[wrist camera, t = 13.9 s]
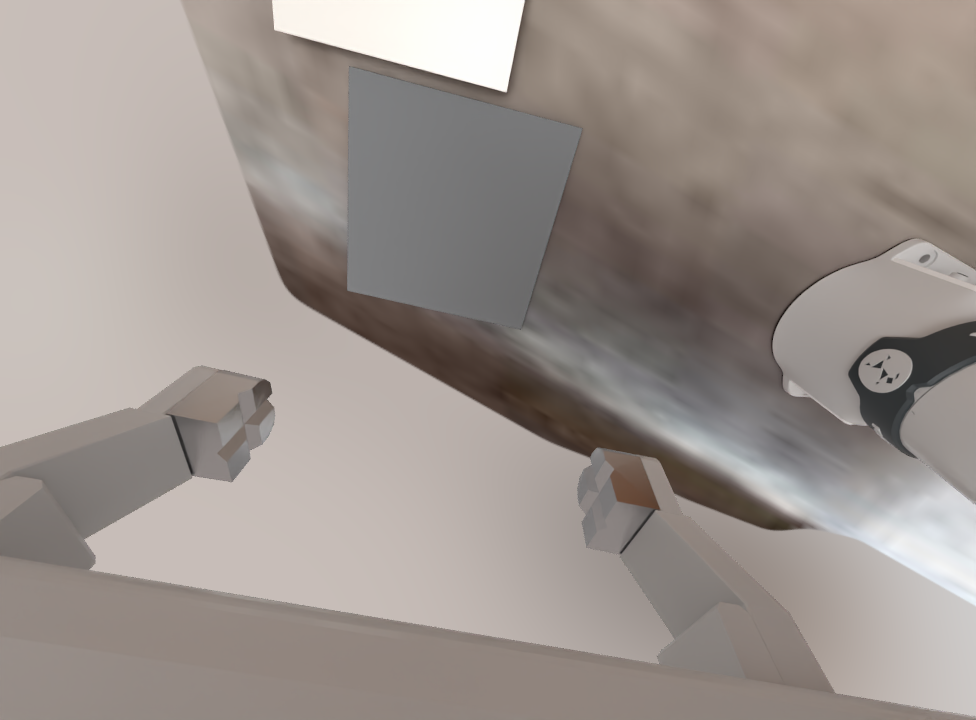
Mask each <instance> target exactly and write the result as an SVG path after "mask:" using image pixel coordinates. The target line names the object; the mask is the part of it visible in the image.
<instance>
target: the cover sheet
mask: <svg viewBox="0 0 976 720" xmlns="http://www.w3.org/2000/svg"><path fill="white" fill-rule="evenodd" d="M272 3H273V16H274V29H275V30H276V31H279V32H282V33H286V34H290V35H293V36H297V37H301V38H305V39H308V40H312V41H316V42H319V43H323V44H327V45H331V46H334V47H338V48H342V49H345V50H349V51H353V52H357V53H360V54H364V55H368V56H371V57H375V58H379V59H383V60H386V61H390V62H394V63H397V64H401V65H405V66H409V67H412V68H416V69H420V70H423V71H427V72H431V73H435V74H438V75H442V76H446V77H449V78H453V79H457V80H461V81H464V82H468V83H472V84H475V85H479V86H483V87H487V88H490V89H494V90H498V91H501V92H505V93H507V88H508V83H509V78H510V73H511V68H512V63H513V58H514V53H515V48H516V43H517V38H518V33H519V28H520V23H521V18H522V13H523V8H524V3H525V0H272Z"/></svg>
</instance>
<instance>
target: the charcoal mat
mask: <svg viewBox="0 0 976 720" xmlns="http://www.w3.org/2000/svg"><path fill="white" fill-rule="evenodd" d="M582 129H583V128H579V127H575V126H572V125H568V124H564V123H560V122H557V121H553V120H549V119H545V118H541V117H538V116H534V115H530V114H526V113H523V112H519V111H515V110H511V109H508V108H504V107H500V106H496V105H493V104H489V103H485V102H481V101H478V100H474V99H470V98H466V97H463V96H459V95H455V94H451V93H448V92H444V91H440V90H436V89H433V88H429V87H425V86H421V85H418V84H414V83H410V82H406V81H403V80H399V79H395V78H391V77H388V76H384V75H380V74H376V73H373V72H369V71H365V70H361V69H358V68H354V67H350V66H349V130H348V266H347V291H352V292H356V293H360V294H365V295H369V296H374V297H378V298H383V299H387V300H391V301H396V302H400V303H405V304H409V305H414V306H418V307H423V308H427V309H431V310H436V311H440V312H445V313H449V314H454V315H458V316H462V317H467V318H471V319H476V320H480V321H485V322H489V323H493V324H498V325H502V326H507V327H511V328H516V329H520V330H521V328H522V325H523V322H524V318H525V315H526V312H527V309H528V305H529V302H530V299H531V296H532V292H533V289H534V286H535V282H536V279H537V276H538V273H539V269H540V266H541V263H542V260H543V256H544V253H545V250H546V247H547V243H548V240H549V237H550V233H551V230H552V227H553V224H554V220H555V217H556V214H557V211H558V207H559V204H560V201H561V197H562V194H563V191H564V188H565V184H566V181H567V178H568V175H569V171H570V168H571V165H572V161H573V158H574V155H575V152H576V148H577V145H578V142H579V139H580V135H581V132H582Z"/></svg>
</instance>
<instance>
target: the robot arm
mask: <svg viewBox="0 0 976 720" xmlns="http://www.w3.org/2000/svg"><path fill="white" fill-rule="evenodd" d="M773 354H774V357H775V360H776V362H777V363H778V365H779V366H780V368H781V369H782V371H783V388H784V390H785V391H786V392H787V393H789V394H790V395H792V396H796V397H811V398H812V399H814V400H815V401H816V402H817V403H819V404H820V405H821V406H823V407H824V408H825V409H827V410H828V411H829V412H830V413H832V414H833V415H834V416H836V417H837V418H838V419H840V420H841V421H843V422H844V423H846V424H849V425H853V424H856V425H861V426H870V427H871V428H872V429H873V430H874V431H876V433H877V434H878V435H879V436H880V437H881V438H882V439H883V440H885V441H886V442H887V443H889V444H890V445H892V446H894V447H896V448H897V449H898V450H900V451H901V452H902V453H904V454H906V455H908V456H911V457H913V458H917V459H920V460H921V461H922V462H923V463H924V464H926V465H927V466H928V467H929V468H931V469H932V470H933V471H934V472H935V473H937V474H938V475H939V476H940V477H942V478H943V479H944V480H945V481H946V482H948V483H949V484H950V485H951V486H953V487H954V488H955V489H956V490H957V491H959V492H960V493H961V494H962V495H964V496H965V497H966V498H967V499H968V500H970V501H971V502H972V503H973V504H975V505H976V270H975V269H973V268H971V267H970V266H968V265H966V264H965V263H963V262H961V261H960V260H958V259H956V258H955V257H953V256H951V255H949V254H948V253H946V252H944V251H943V250H941V249H939V248H938V247H936V246H934V245H933V244H931V243H929V242H927V241H924V240H922V239H918V238H916V239H911V240H908V241H906V242H903V243H901V244H900V245H898V246H896V247H894V248H892V249H891V250H889V251H887V252H886V253H884V254H882V255H881V256H879V257H877V258H874V259H872V260H869V261H865V262H862V263H858V264H855V265H852V266H849V267H846V268H843V269H841V270H839V271H837V272H834V273H832V274H830V275H829V276H827V277H825V278H823V279H822V280H820V281H818V282H817V283H815V284H814V285H813V286H811V287H810V288H809V289H807V290H806V291H805V292H804V293H802V294H801V295H800V296H799V297H798V298H797V299H796V300H795V301H794V302H793V303H792V304H791V306H790V307H789V308H788V309H787V311H786V312H785V313H784V315H783V316H782V318H781V320H780V321H779V323H778V325H777V328H776V330H775V333H774V337H773ZM271 394H272V390H271V384H270V382H269V381H267V380H265V379H260V378H256V377H252V376H247V375H243V374H239V373H234V372H230V371H225V370H219V369H215V368H210V367H206V366H198V367H194V368H192V369H191V370H189V371H188V372H187V373H185V374H184V375H183V376H181V377H180V378H179V379H177V380H176V381H174V382H173V383H172V384H171V385H169V386H168V387H166V388H165V389H164V390H162V391H161V392H160V393H158V394H157V395H156V396H154V397H153V398H151V399H150V400H149V401H147V402H146V403H145V404H143V405H142V406H141V407H139V408H138V409H133V408H127V409H124V410H120V411H117V412H114V413H110V414H107V415H105V416H101V417H98V418H94V419H91V420H88V421H84V422H81V423H78V424H74V425H71V426H68V427H65V428H61V429H58V430H55V431H52V432H48V433H45V434H42V435H39V436H35V437H32V438H29V439H25V440H22V441H19V442H16V443H13V444H9V445H6V446H3V447H0V720H976V717H975V716H969V715H963V714H957V713H951V712H945V711H939V710H933V709H927V708H921V707H915V706H909V705H903V704H897V703H891V702H885V701H879V700H873V699H866V698H861V697H854V696H849V695H843V694H836V693H835V692H834V690H833V688H832V686H831V685H830V683H829V681H828V679H827V678H826V676H825V674H824V672H823V671H822V669H821V667H820V665H819V663H818V662H817V660H816V658H815V656H814V655H813V653H812V651H811V649H810V648H809V646H808V644H807V643H806V641H805V639H804V637H803V635H802V634H801V632H800V630H799V629H798V627H797V625H796V623H795V621H794V620H793V618H792V616H791V614H790V613H789V612H788V611H787V610H786V609H785V608H784V607H783V606H782V605H781V604H780V603H779V602H778V601H777V600H776V599H775V598H774V597H773V596H772V595H770V593H768V592H767V591H766V590H765V589H764V588H763V587H762V586H761V585H760V584H759V583H758V582H757V581H756V580H755V579H754V578H753V577H752V576H751V575H750V574H748V572H747V571H746V570H745V569H744V568H742V567H741V566H740V565H739V564H738V563H737V562H736V561H735V560H734V559H733V558H732V557H731V556H730V555H729V554H728V553H727V552H725V550H724V549H723V548H722V547H721V546H720V545H719V544H717V543H716V542H715V541H714V540H713V539H712V538H711V537H710V536H709V535H708V534H707V533H706V532H705V531H704V530H703V529H702V528H701V527H700V526H699V525H698V524H697V523H696V522H695V521H693V520H692V519H691V518H690V517H688V516H684V515H683V513H682V511H681V509H680V507H679V504H678V502H677V500H676V497H675V495H674V493H673V491H672V488H671V486H670V484H669V482H668V479H667V477H666V475H665V473H664V470H663V468H662V466H661V464H660V462H659V461H658V460H657V459H656V458H651V457H646V456H640V455H634V454H629V453H624V452H619V451H614V450H608V449H603V448H597V449H596V450H594V452H593V453H592V455H591V457H590V459H591V464H592V465H591V466H589V467H587V468H585V469H584V470H583V472H582V474H581V476H580V478H579V483H578V503H579V506H580V508H581V509H582V510H583V511H584V512H585V514H586V516H585V517H584V519H583V521H582V526H583V531H584V536H585V542H586V547H587V548H591V549H595V550H600V551H605V552H609V553H614V554H619V555H620V558H621V559H622V561H623V562H624V564H625V565H626V567H627V568H628V570H629V571H630V573H631V574H632V576H633V577H634V579H635V580H636V581H637V583H638V585H639V586H640V588H641V589H642V591H643V592H644V594H645V595H646V597H647V598H648V600H649V601H650V603H651V604H652V605H653V607H654V609H655V610H656V612H657V613H658V615H659V616H660V618H661V619H662V620H663V622H664V623H665V625H666V626H667V628H668V629H669V631H670V633H671V634H672V635H673V637H674V638H675V639H674V640H673V641H672V642H671V643H670V644H668V645H667V646H666V647H665V648H664V649H662V650H661V652H660V653H659V654H658V656H657V657H658V661H659V664H654V663H648V662H642V661H636V660H630V659H624V658H618V657H612V656H606V655H600V654H594V653H588V652H581V651H575V650H570V649H564V648H558V647H552V646H546V645H540V644H533V643H527V642H522V641H515V640H509V639H503V638H497V637H491V636H485V635H479V634H473V633H467V632H461V631H455V630H449V629H443V628H437V627H430V626H425V625H419V624H413V623H407V622H401V621H394V620H389V619H383V618H376V617H370V616H364V615H358V614H352V613H346V612H340V611H334V610H328V609H322V608H316V607H310V606H304V605H298V604H292V603H286V602H280V601H274V600H268V599H262V598H256V597H249V596H243V595H237V594H231V593H225V592H219V591H212V590H207V589H201V588H194V587H189V586H182V585H176V584H171V583H165V582H158V581H152V580H146V579H140V578H134V577H128V576H122V575H116V574H110V573H104V572H97V571H92V570H89V569H90V568H91V567H92V566H93V565H94V564H95V555H94V553H93V552H92V550H91V549H90V548H89V546H88V545H87V543H86V542H85V540H84V539H85V538H87V537H89V536H91V535H93V534H95V533H96V532H98V531H100V530H101V529H103V528H105V527H107V526H108V525H110V524H112V523H114V522H116V521H117V520H119V519H121V518H123V517H124V516H126V515H128V514H130V513H131V512H133V511H135V510H137V509H138V508H140V507H142V506H144V505H145V504H147V503H149V502H151V501H153V500H154V499H156V498H158V497H160V496H161V495H163V494H165V493H167V492H168V491H170V490H172V489H174V488H175V487H177V486H179V485H180V484H182V483H184V482H186V481H188V480H189V479H191V478H192V476H197V477H203V478H209V479H216V480H223V481H228V482H233V480H234V479H235V478H236V477H237V475H238V474H239V473H240V472H241V470H242V469H243V468H244V466H245V465H246V464H247V463H248V462H249V460H250V450H252V449H254V448H256V447H258V446H260V445H262V444H263V442H264V441H265V440H266V439H267V438H268V436H269V434H270V432H271V430H272V427H273V425H274V419H275V411H274V407H273V406H272V404H271V403H270V402H269V401H268V400H267V399H268V397H269V396H270V395H271Z"/></svg>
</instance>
